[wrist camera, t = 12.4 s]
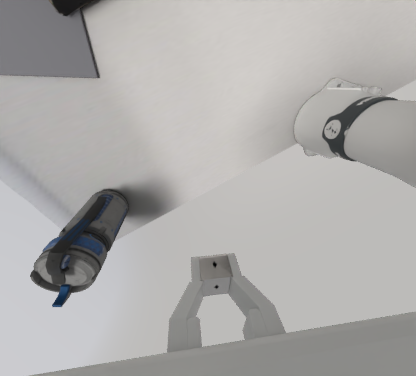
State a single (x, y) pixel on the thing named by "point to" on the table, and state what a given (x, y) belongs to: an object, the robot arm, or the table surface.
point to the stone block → (68, 5)
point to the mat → (43, 41)
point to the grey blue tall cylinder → (81, 246)
